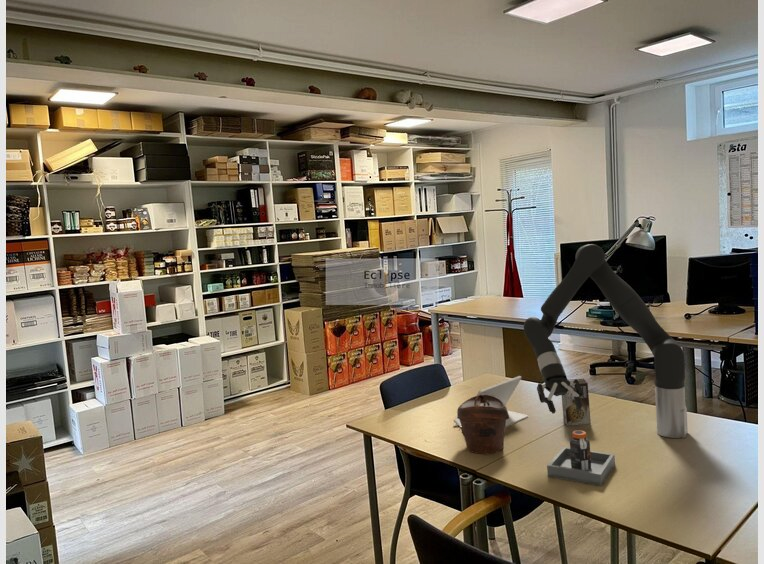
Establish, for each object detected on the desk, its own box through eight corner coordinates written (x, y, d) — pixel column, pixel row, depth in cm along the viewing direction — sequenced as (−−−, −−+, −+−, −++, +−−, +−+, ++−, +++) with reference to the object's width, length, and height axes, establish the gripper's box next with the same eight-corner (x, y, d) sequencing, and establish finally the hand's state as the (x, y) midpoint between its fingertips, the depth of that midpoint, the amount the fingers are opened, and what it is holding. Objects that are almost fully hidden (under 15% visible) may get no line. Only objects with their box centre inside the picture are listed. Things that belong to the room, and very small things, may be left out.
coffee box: (586, 418, 223) (584, 378, 222) (591, 424, 217) (588, 382, 216) (562, 419, 224) (560, 379, 223) (566, 425, 218) (563, 384, 216)
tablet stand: (529, 417, 231) (526, 376, 230) (488, 436, 216) (484, 391, 214) (494, 409, 245) (491, 370, 244) (453, 425, 230) (449, 384, 228)
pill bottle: (592, 471, 176) (590, 435, 175) (572, 471, 177) (570, 435, 176) (589, 463, 182) (587, 428, 181) (570, 463, 183) (568, 428, 182)
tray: (615, 464, 181) (614, 454, 181) (601, 486, 168) (600, 474, 168) (564, 456, 191) (563, 446, 190) (547, 476, 178) (547, 465, 177)
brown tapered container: (491, 432, 218) (487, 386, 216) (522, 450, 199) (518, 400, 197) (449, 443, 212) (445, 396, 210) (477, 462, 193) (472, 411, 191)
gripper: (533, 364, 194) (548, 408, 184) (574, 360, 195) (591, 402, 185) (529, 376, 200) (543, 418, 189) (568, 371, 201) (585, 413, 191)
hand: (566, 410), depth 187 cm, fingers open, 8 cm apart
